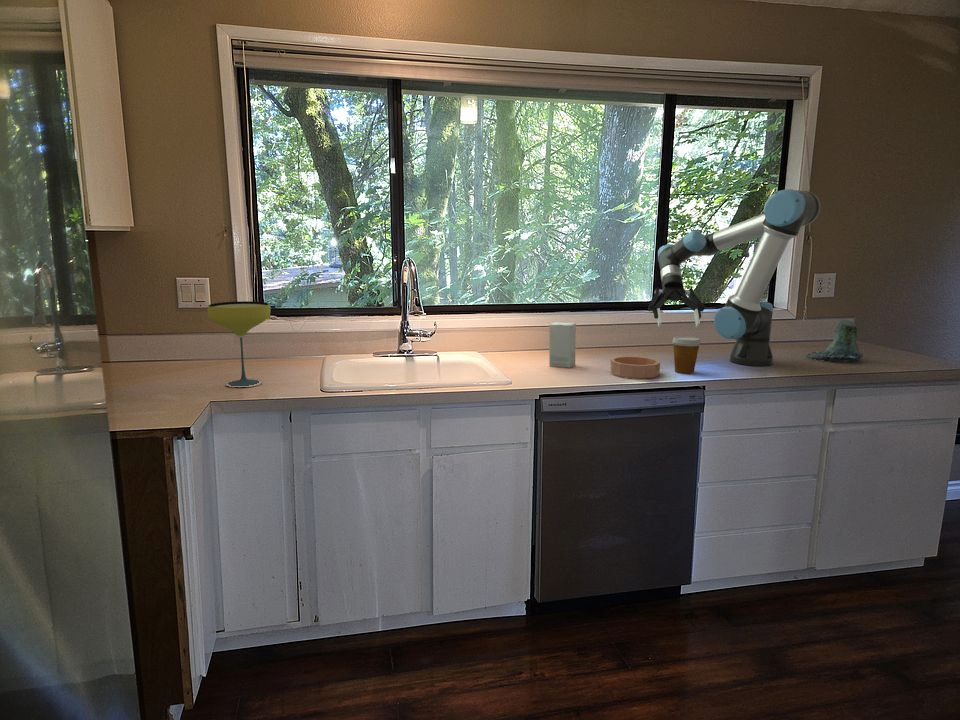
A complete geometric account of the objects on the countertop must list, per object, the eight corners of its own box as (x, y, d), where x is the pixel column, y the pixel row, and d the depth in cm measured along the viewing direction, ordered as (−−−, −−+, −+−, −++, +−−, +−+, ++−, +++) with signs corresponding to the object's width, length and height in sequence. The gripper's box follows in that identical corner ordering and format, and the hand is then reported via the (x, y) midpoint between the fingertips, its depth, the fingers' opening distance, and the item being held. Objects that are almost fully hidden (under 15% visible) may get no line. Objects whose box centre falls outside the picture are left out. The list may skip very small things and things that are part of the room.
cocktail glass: (203, 391, 200) (197, 307, 195) (225, 377, 218) (220, 301, 213) (263, 391, 200) (259, 308, 195) (281, 378, 218) (277, 301, 213)
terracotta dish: (653, 369, 238) (653, 356, 237) (663, 379, 222) (664, 365, 221) (607, 368, 238) (607, 355, 237) (614, 378, 222) (615, 365, 221)
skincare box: (575, 365, 243) (577, 322, 240) (570, 368, 237) (571, 325, 234) (553, 363, 246) (555, 321, 243) (547, 366, 240) (549, 323, 237)
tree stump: (831, 354, 272) (846, 313, 265) (869, 375, 255) (887, 332, 248) (795, 354, 267) (810, 312, 259) (832, 376, 249) (849, 332, 242)
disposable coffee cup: (700, 375, 228) (702, 340, 225) (671, 374, 230) (673, 339, 227) (697, 370, 237) (699, 336, 234) (669, 368, 239) (671, 335, 236)
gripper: (702, 286, 255) (711, 331, 243) (636, 285, 256) (642, 330, 244) (707, 273, 249) (716, 319, 237) (640, 272, 250) (646, 318, 238)
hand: (679, 325), depth 241 cm, fingers open, 13 cm apart
